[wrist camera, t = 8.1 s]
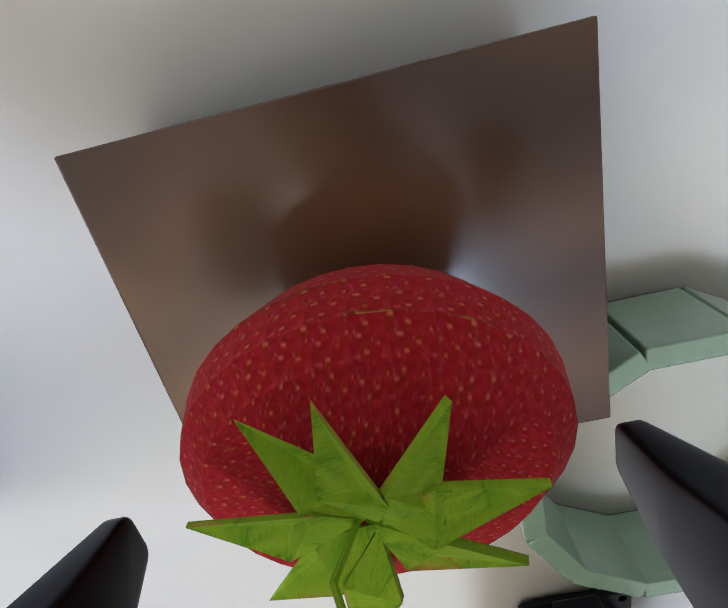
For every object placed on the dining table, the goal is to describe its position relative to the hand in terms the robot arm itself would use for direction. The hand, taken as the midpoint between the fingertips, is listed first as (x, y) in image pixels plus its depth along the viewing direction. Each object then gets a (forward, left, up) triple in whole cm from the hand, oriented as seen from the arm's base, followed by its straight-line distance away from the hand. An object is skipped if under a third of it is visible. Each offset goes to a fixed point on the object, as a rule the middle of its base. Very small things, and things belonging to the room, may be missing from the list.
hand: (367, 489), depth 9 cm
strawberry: (+1, 0, -7) cm, 7 cm away
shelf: (+1, 0, -12) cm, 13 cm away
